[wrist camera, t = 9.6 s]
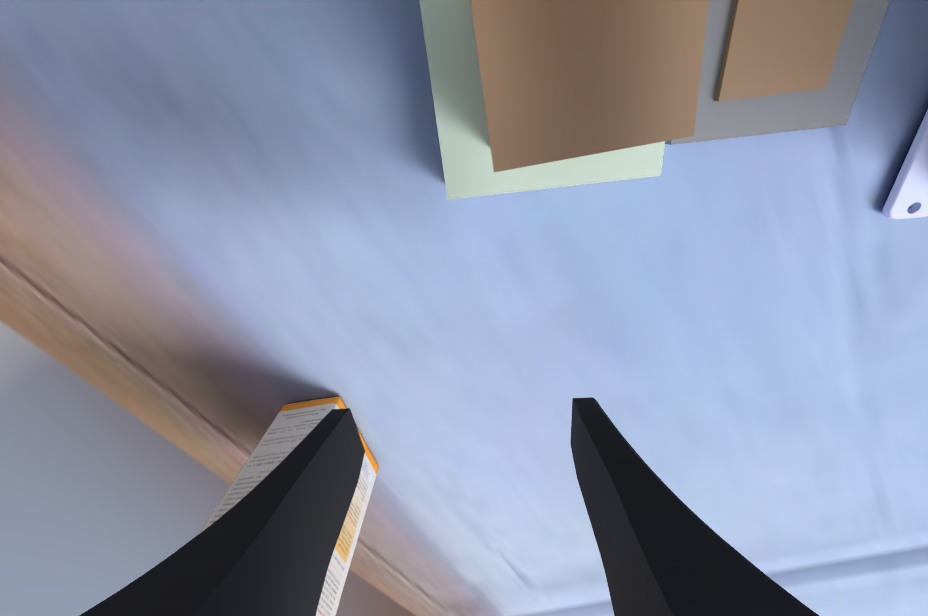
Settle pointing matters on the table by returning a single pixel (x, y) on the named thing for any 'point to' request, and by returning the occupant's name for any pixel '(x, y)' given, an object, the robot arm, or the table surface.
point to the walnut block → (587, 75)
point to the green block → (468, 129)
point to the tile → (782, 65)
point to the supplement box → (272, 451)
